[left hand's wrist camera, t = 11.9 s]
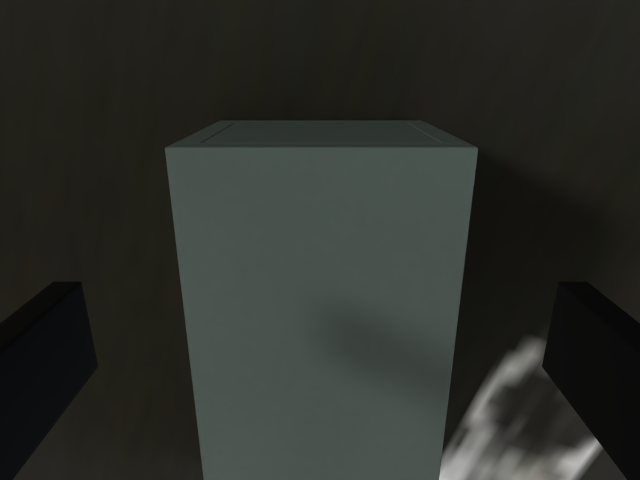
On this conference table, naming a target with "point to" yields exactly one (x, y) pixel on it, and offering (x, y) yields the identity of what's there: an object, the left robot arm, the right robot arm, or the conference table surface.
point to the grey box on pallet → (321, 293)
